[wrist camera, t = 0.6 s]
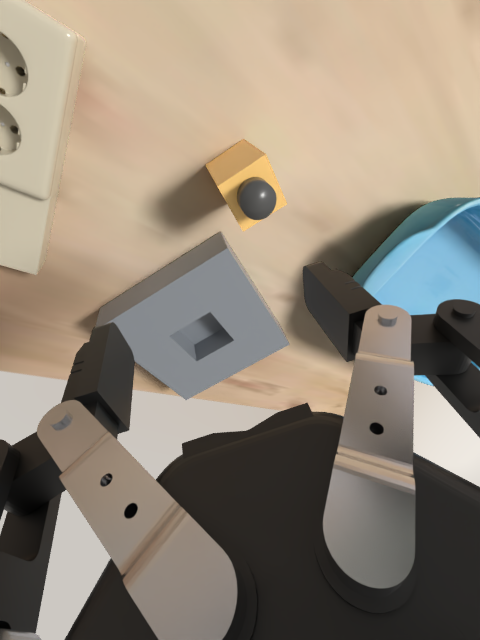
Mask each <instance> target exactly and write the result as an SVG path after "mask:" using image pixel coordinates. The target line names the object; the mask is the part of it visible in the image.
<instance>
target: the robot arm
mask: <svg viewBox="0 0 480 640" xmlns="http://www.w3.org/2000/svg"><path fill="white" fill-rule="evenodd" d="M303 283H304V297H305V302H306V305H307V308H308V310H309V311H310V313H311V314H312V315H313V317H314V318H315V319H316V321H317V322H318V324H319V325H320V326H321V328H322V329H323V330H324V332H325V333H326V335H327V336H328V337H329V339H330V340H331V341H332V343H333V344H334V345H335V347H336V348H337V350H338V351H339V352H340V354H341V355H342V356H343V358H344V359H345V361H346V362H349V361H352V360H355V362H354V368H353V373H352V378H351V383H350V388H349V393H348V399H347V404H346V409H345V414H344V417H343V416H341V415H337V414H333V413H327V412H312V411H311V409H310V407H309V405H308V403H305V404H302V405H299V406H296V407H293V408H290V409H287V410H284V411H281V412H278V413H276V414H274V415H272V416H271V417H269V418H268V419H266V420H264V421H263V422H261V423H259V424H258V425H256V426H255V427H253V428H251V429H250V430H247V431H238V432H224V433H213V434H210V435H207V436H204V437H200V438H197V439H194V440H191V441H188V442H185V443H183V444H182V450H183V454H182V455H181V456H179V457H178V458H176V459H175V460H174V461H173V462H172V463H171V464H169V465H168V466H167V467H166V468H165V469H164V471H163V472H162V473H161V474H160V475H159V476H158V478H157V479H156V480H155V479H154V478H153V477H152V476H151V475H150V474H149V473H148V472H147V471H146V470H145V469H144V468H143V467H142V465H141V464H140V463H139V462H137V460H136V459H135V458H134V457H133V456H132V455H131V454H130V453H129V452H128V451H127V450H126V449H125V448H124V447H123V446H122V445H121V444H120V443H119V442H118V441H117V435H118V434H119V433H122V432H125V431H128V430H129V426H130V413H131V401H132V389H133V376H134V364H135V361H134V356H133V352H132V350H131V348H130V346H129V345H128V343H127V341H126V340H125V338H124V337H123V335H122V333H121V332H120V330H119V328H118V327H117V325H116V324H115V323H114V322H111V323H108V324H105V325H101V326H98V327H94V328H93V330H92V334H91V337H90V341H89V342H87V343H84V344H83V346H82V347H81V348H80V350H79V351H78V352H77V354H76V357H75V360H74V363H73V365H74V366H72V369H71V374H70V376H69V379H68V382H67V385H66V388H65V392H64V395H63V398H62V401H61V403H60V404H58V405H56V406H55V407H53V408H52V409H51V410H50V411H48V412H47V413H46V414H45V416H44V417H43V418H42V420H41V421H40V423H39V425H38V428H37V432H36V433H33V434H32V435H30V436H28V437H26V438H25V439H23V440H21V441H19V442H18V443H16V444H14V445H12V446H11V445H10V444H8V443H7V442H6V441H4V440H0V519H1V516H2V513H3V510H4V509H5V510H6V511H8V512H7V515H6V519H5V522H4V525H3V528H2V531H1V535H0V640H41V639H40V637H39V636H38V635H36V634H35V633H36V628H37V622H38V617H39V611H40V606H41V601H42V595H43V590H44V585H45V579H46V574H47V568H48V563H49V558H50V552H51V547H52V541H53V536H54V531H55V525H56V520H57V515H58V509H59V504H60V498H61V493H62V492H63V491H65V490H67V491H68V492H69V494H70V495H71V497H72V498H73V500H74V502H75V503H76V505H77V506H78V508H79V509H80V511H81V512H82V514H83V515H84V517H85V518H86V520H87V522H88V523H89V525H90V526H91V528H92V529H93V531H94V532H95V534H96V535H97V537H98V538H99V540H100V541H101V543H102V544H103V546H104V548H105V549H106V550H107V552H108V554H109V555H110V557H111V559H110V561H109V562H108V564H107V566H106V568H105V569H104V571H103V573H102V575H101V576H100V578H99V580H98V582H97V584H96V585H95V587H94V589H93V591H92V592H91V594H90V596H89V598H88V599H87V601H86V603H85V605H84V607H83V608H82V610H81V612H80V614H79V615H78V617H77V619H76V620H75V622H74V624H73V626H72V628H71V630H70V631H69V633H68V635H67V636H66V638H65V640H480V487H479V486H476V485H475V484H473V483H471V482H469V481H467V480H465V479H463V478H461V477H459V476H458V475H456V474H454V473H452V472H450V471H448V470H446V469H444V468H442V467H440V466H438V465H436V464H435V463H433V462H431V461H429V460H427V459H425V458H423V457H421V456H419V455H418V454H416V453H414V452H413V412H414V411H413V410H414V405H413V404H414V376H415V375H425V376H426V377H427V378H428V380H429V381H430V382H431V383H432V384H433V385H434V386H435V387H436V389H437V390H438V391H439V392H440V393H441V394H442V395H443V397H444V398H445V399H446V400H447V401H448V402H449V403H450V404H451V406H452V407H453V408H454V409H455V410H456V411H457V412H458V413H459V415H460V416H461V417H462V418H463V419H464V420H465V422H466V423H467V424H468V425H469V426H470V427H471V428H472V429H473V431H474V432H475V433H476V434H477V435H478V436H479V437H480V370H479V369H478V368H477V367H475V366H474V365H473V364H472V363H471V361H473V362H474V363H475V364H476V365H477V366H478V367H479V368H480V304H478V303H475V302H472V301H468V300H462V299H452V300H447V301H444V302H442V303H440V304H439V305H438V307H437V310H436V314H423V315H410V314H409V313H408V312H407V311H405V310H404V309H402V308H400V307H397V306H393V305H382V304H381V303H380V302H379V301H377V300H376V299H375V298H374V297H373V296H372V295H371V294H370V293H369V292H367V291H366V290H365V289H364V288H363V287H361V285H360V284H359V283H357V282H355V280H354V279H353V278H352V277H351V276H350V275H349V274H348V273H345V272H342V271H340V270H337V269H335V270H331V269H329V268H328V267H327V266H326V265H325V264H324V263H323V262H322V261H320V262H317V263H314V264H310V265H307V266H304V267H303Z"/></svg>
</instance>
